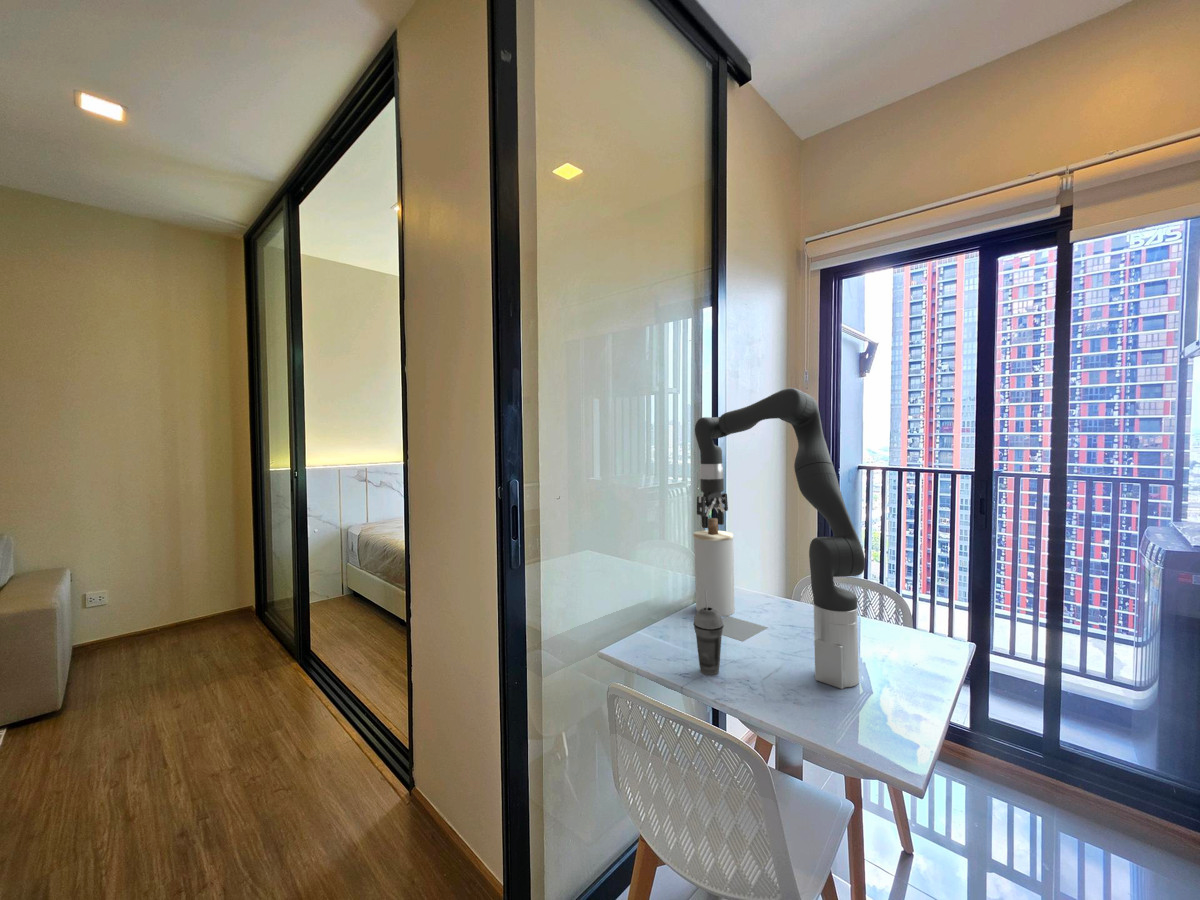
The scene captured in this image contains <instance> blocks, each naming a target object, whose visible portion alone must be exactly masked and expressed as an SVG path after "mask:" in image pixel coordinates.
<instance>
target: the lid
mask: <svg viewBox="0 0 1200 900" xmlns="http://www.w3.org/2000/svg"><path fill="white" fill-rule="evenodd" d="M718 527H719V524H718V519H717V517H709V528H707V530H699V531H698V530H697V531H694V532H693V533H692V536H693V539H694V538H696V539H700V540H708V541H722V540H729V539H732V538H733V539H734V533H733V532H731V531H726V530H719V528H718Z"/></svg>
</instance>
